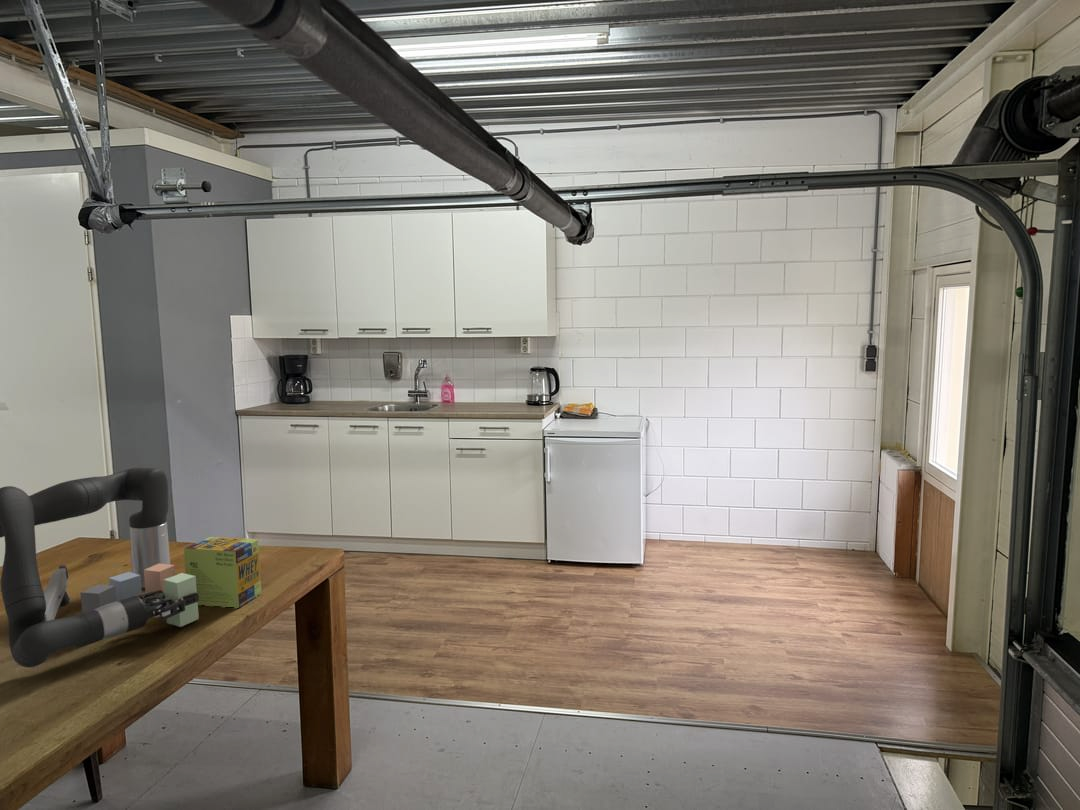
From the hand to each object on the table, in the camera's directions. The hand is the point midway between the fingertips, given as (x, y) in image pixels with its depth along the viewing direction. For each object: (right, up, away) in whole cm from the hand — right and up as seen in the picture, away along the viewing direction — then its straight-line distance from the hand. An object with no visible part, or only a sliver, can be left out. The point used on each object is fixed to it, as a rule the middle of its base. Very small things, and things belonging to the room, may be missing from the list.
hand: (190, 594), depth 176 cm
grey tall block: (-19, -8, -5) cm, 21 cm away
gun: (-37, -7, +5) cm, 38 cm away
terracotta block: (-12, -6, +9) cm, 16 cm away
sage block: (-1, -6, -1) cm, 7 cm away
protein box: (+2, -5, +15) cm, 16 cm away
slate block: (-17, -7, +3) cm, 19 cm away
